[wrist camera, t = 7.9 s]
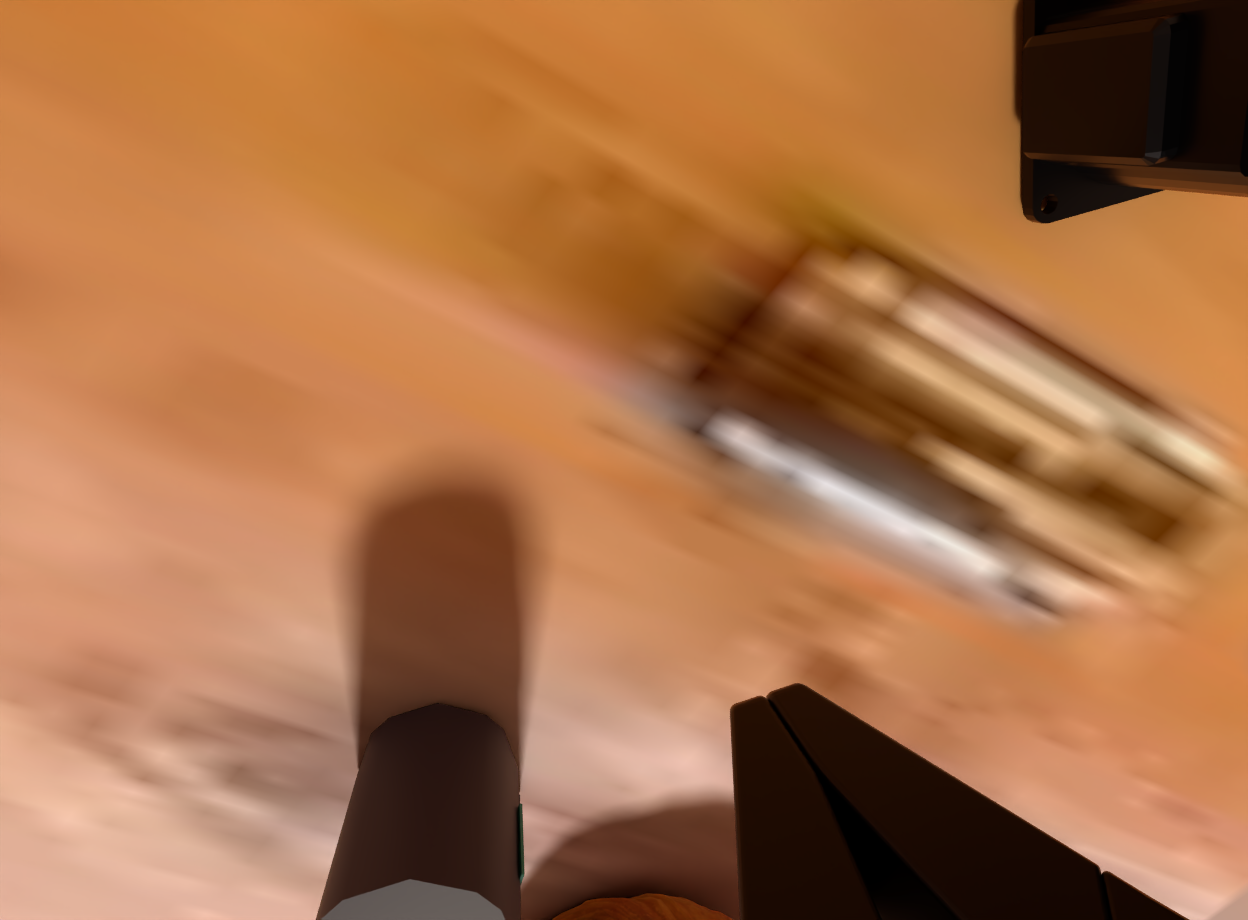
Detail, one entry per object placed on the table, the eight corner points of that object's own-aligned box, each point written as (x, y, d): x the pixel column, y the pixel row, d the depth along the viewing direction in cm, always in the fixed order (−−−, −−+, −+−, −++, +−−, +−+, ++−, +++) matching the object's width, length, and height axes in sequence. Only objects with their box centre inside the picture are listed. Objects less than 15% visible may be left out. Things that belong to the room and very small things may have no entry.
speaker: (548, 826, 26) (568, 1117, 18) (404, 868, 26) (356, 1185, 17) (495, 667, 24) (490, 915, 16) (337, 710, 24) (246, 988, 15)
